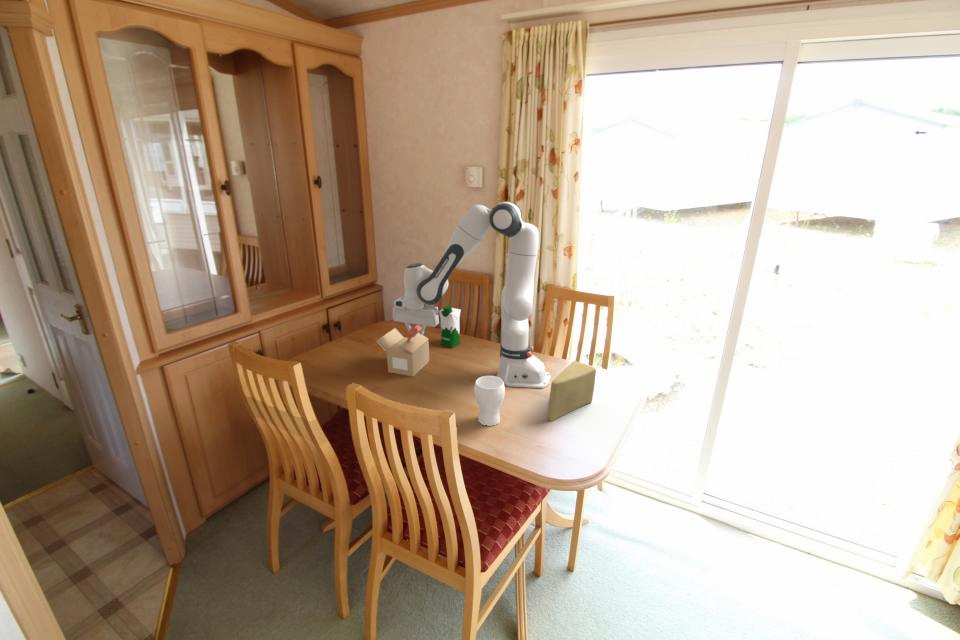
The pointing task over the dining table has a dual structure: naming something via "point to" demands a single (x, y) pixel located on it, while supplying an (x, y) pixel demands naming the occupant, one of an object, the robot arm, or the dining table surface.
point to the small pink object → (414, 340)
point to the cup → (489, 399)
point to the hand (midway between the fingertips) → (416, 333)
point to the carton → (407, 359)
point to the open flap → (389, 339)
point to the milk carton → (450, 326)
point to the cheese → (571, 389)
